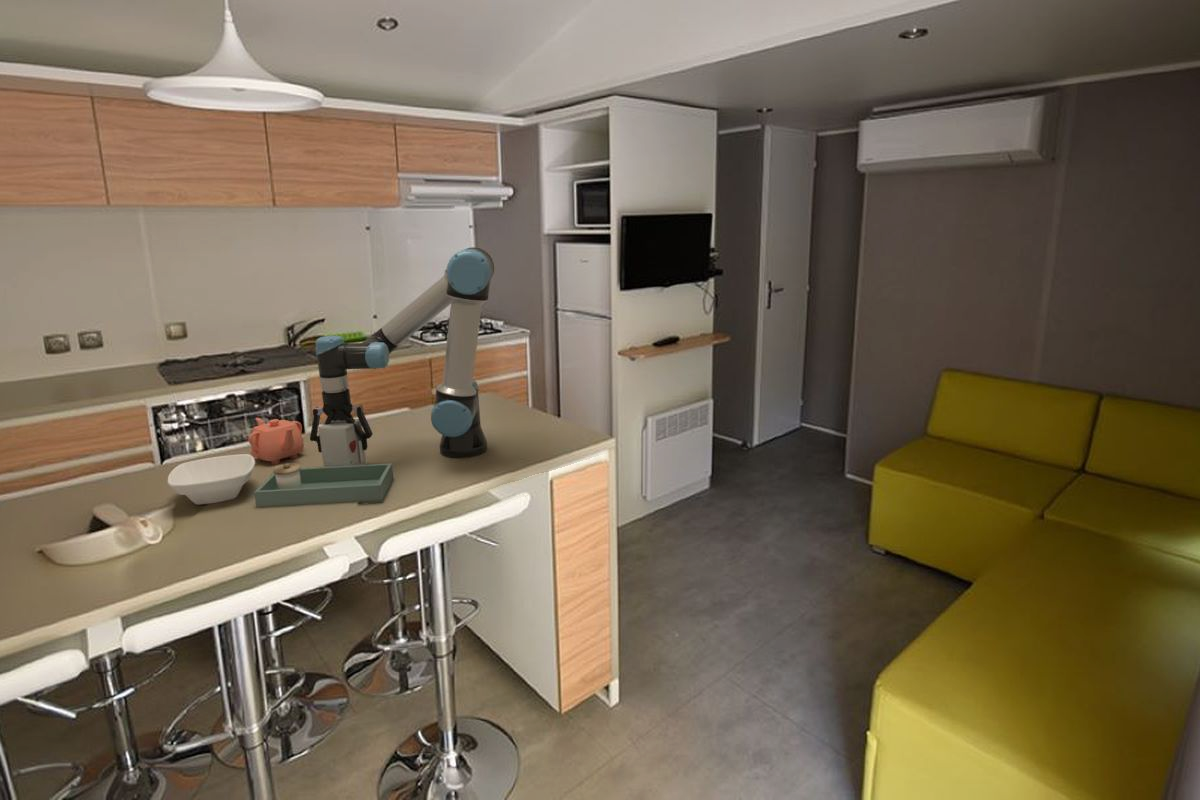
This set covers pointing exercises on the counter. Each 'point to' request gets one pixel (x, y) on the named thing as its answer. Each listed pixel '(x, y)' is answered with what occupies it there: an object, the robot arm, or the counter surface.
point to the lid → (286, 468)
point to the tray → (330, 486)
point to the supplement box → (340, 444)
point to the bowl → (212, 478)
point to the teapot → (276, 440)
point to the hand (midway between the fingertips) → (344, 461)
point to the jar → (289, 481)
